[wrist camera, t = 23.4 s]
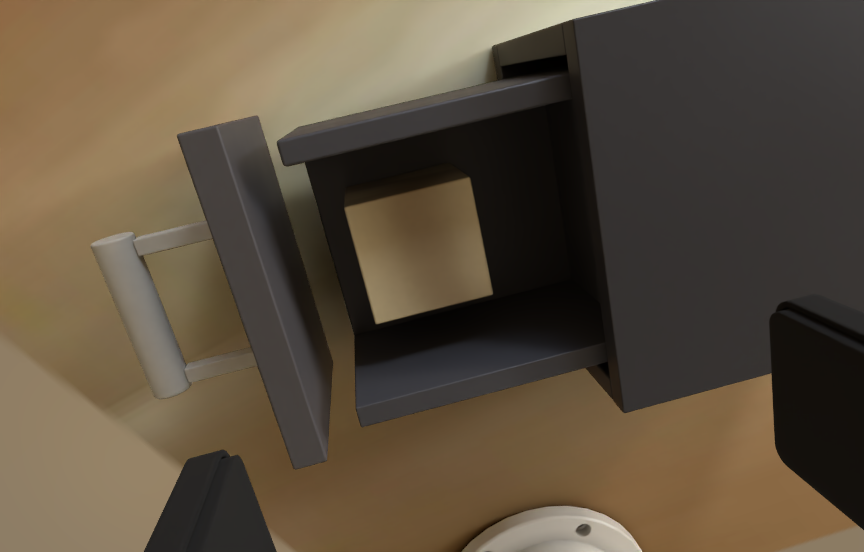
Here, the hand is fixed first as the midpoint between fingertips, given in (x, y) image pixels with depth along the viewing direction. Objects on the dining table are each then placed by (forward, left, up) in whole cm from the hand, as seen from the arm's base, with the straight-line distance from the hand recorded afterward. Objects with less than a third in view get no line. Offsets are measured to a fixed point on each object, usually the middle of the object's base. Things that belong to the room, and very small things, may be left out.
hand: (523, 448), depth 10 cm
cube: (0, 0, -16) cm, 16 cm away
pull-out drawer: (-2, 0, -17) cm, 17 cm away
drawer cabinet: (+12, 0, -18) cm, 22 cm away
